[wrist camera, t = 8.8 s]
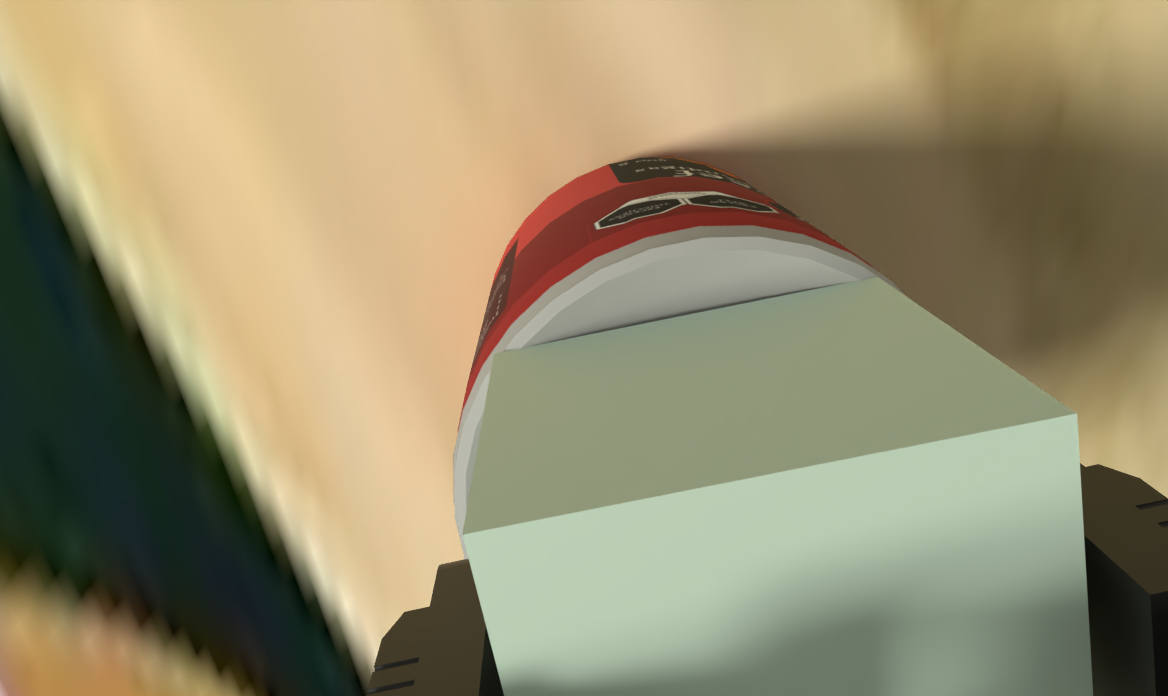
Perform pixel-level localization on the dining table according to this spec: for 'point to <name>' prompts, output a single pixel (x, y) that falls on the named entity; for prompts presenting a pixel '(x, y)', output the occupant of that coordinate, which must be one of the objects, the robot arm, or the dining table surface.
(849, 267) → the canned food
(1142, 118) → the dining table surface
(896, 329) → the sage block
